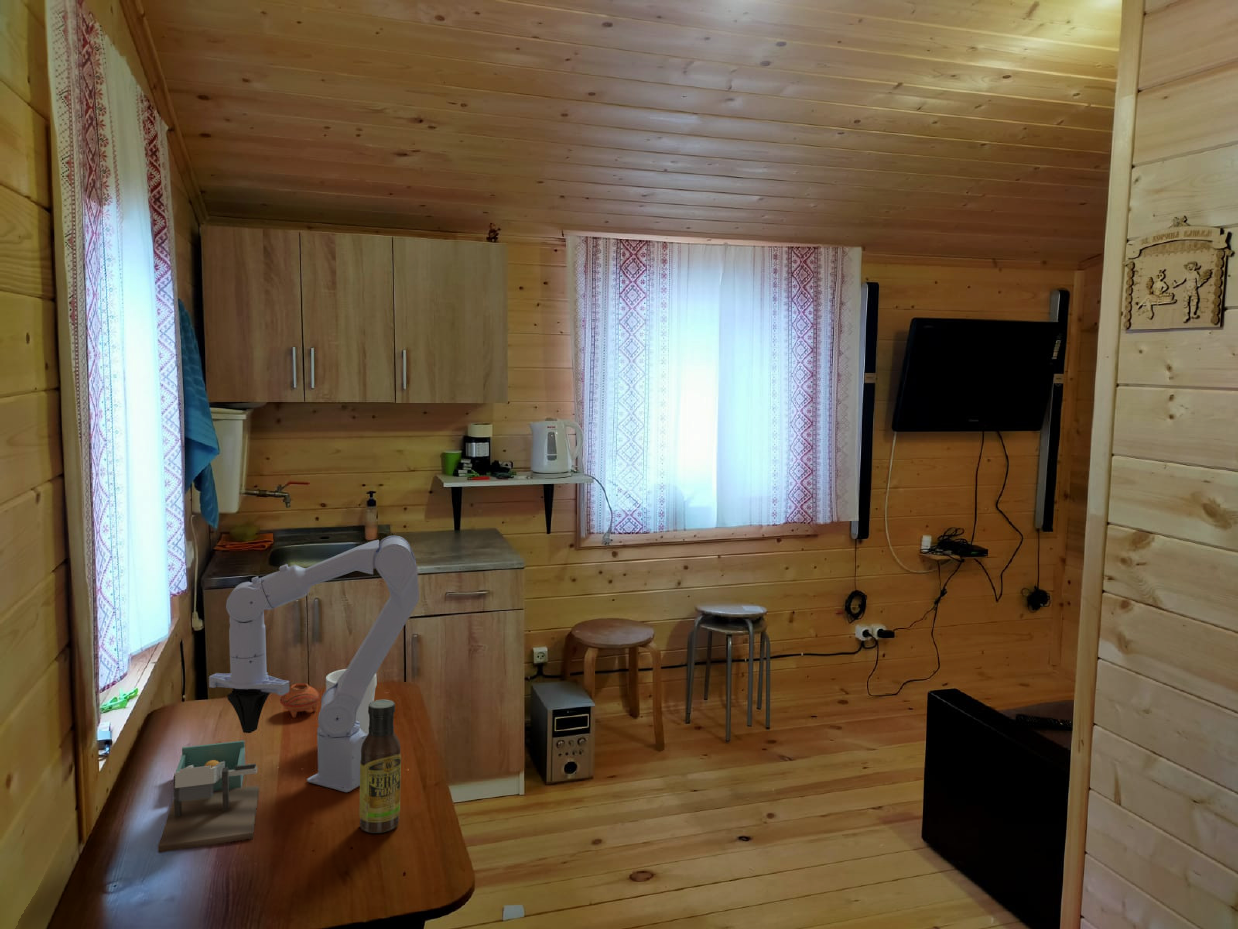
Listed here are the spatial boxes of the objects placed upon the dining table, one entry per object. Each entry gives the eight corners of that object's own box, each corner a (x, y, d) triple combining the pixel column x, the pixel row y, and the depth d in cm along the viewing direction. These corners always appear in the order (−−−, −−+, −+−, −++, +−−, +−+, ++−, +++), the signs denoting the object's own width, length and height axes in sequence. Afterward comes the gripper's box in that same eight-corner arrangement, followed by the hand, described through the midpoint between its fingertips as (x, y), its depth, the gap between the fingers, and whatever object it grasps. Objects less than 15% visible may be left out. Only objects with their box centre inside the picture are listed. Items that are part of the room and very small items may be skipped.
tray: (251, 792, 136) (251, 761, 137) (174, 802, 133) (175, 770, 134) (257, 783, 151) (257, 755, 152) (189, 792, 147) (189, 763, 148)
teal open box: (241, 791, 151) (240, 763, 151) (174, 799, 148) (174, 770, 148) (245, 767, 161) (244, 740, 161) (183, 774, 158) (182, 747, 157)
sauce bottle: (368, 840, 136) (366, 714, 134) (353, 824, 141) (351, 702, 139) (407, 828, 140) (406, 705, 138) (392, 812, 144) (390, 694, 143)
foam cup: (368, 750, 169) (367, 684, 168) (320, 749, 169) (319, 683, 168) (382, 731, 178) (381, 668, 177) (337, 730, 179) (335, 667, 177)
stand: (252, 839, 136) (251, 791, 135) (158, 852, 131) (156, 803, 131) (259, 791, 152) (257, 748, 151) (174, 801, 147) (173, 757, 147)
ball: (224, 771, 155) (226, 764, 158) (210, 761, 154) (212, 754, 157) (211, 784, 155) (213, 777, 158) (197, 774, 154) (200, 767, 157)
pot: (318, 702, 194) (319, 675, 192) (319, 723, 187) (320, 695, 185) (279, 705, 191) (279, 677, 189) (279, 726, 184) (279, 698, 182)
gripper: (299, 650, 153) (301, 726, 154) (227, 643, 157) (229, 718, 158) (273, 662, 146) (275, 742, 147) (199, 655, 150) (201, 732, 151)
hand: (250, 730), depth 152 cm, fingers closed
